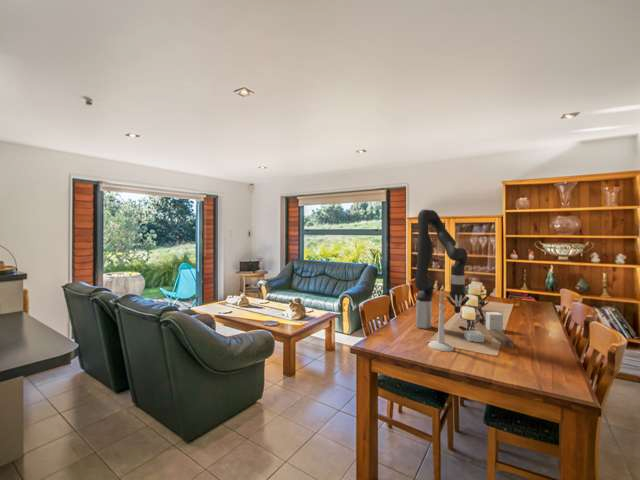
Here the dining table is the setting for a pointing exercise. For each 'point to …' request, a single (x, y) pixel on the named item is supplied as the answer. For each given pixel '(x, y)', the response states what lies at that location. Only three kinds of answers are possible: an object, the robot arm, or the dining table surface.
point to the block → (474, 336)
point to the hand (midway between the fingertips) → (457, 312)
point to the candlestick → (441, 331)
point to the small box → (494, 321)
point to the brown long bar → (501, 338)
